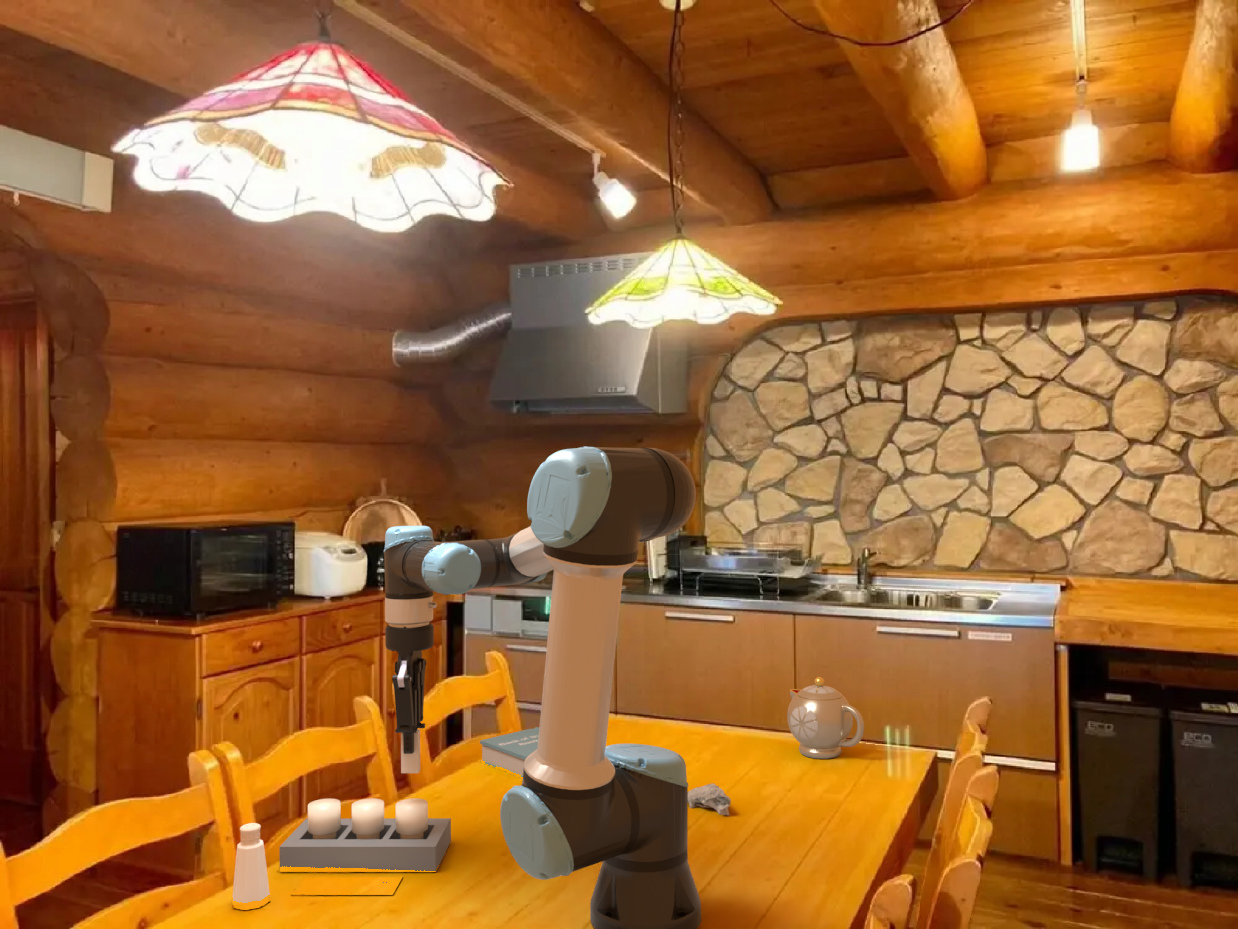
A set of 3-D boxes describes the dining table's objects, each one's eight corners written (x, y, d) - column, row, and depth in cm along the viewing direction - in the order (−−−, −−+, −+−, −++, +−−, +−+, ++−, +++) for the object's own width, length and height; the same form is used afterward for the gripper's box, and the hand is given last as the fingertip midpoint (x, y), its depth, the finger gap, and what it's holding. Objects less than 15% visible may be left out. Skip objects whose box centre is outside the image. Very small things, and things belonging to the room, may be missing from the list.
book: (480, 764, 207) (480, 740, 207) (541, 749, 217) (541, 726, 217) (547, 790, 190) (546, 764, 190) (609, 772, 201) (609, 747, 201)
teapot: (772, 754, 210) (771, 677, 210) (808, 740, 220) (807, 667, 220) (846, 771, 198) (845, 690, 198) (881, 757, 207) (880, 678, 207)
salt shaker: (276, 894, 144) (275, 818, 144) (264, 911, 139) (263, 832, 138) (238, 895, 144) (237, 819, 144) (225, 912, 138) (224, 833, 138)
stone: (698, 822, 172) (698, 799, 172) (677, 797, 184) (678, 775, 184) (733, 820, 173) (733, 796, 173) (710, 795, 185) (711, 773, 185)
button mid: (379, 847, 154) (379, 809, 154) (347, 847, 155) (347, 809, 155) (387, 835, 159) (387, 798, 159) (357, 835, 160) (356, 798, 160)
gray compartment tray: (435, 873, 151) (435, 846, 151) (279, 873, 151) (279, 847, 151) (450, 842, 163) (450, 818, 163) (306, 842, 163) (306, 818, 163)
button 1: (335, 847, 155) (334, 809, 155) (303, 847, 155) (303, 809, 155) (344, 835, 160) (344, 798, 160) (314, 835, 160) (313, 798, 160)
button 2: (424, 847, 154) (423, 809, 154) (392, 847, 154) (392, 809, 154) (431, 835, 159) (430, 798, 159) (400, 835, 159) (399, 798, 159)
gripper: (423, 630, 150) (425, 785, 150) (441, 616, 163) (442, 759, 163) (374, 630, 150) (376, 785, 151) (396, 616, 163) (397, 759, 164)
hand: (410, 771), depth 157 cm, fingers closed
